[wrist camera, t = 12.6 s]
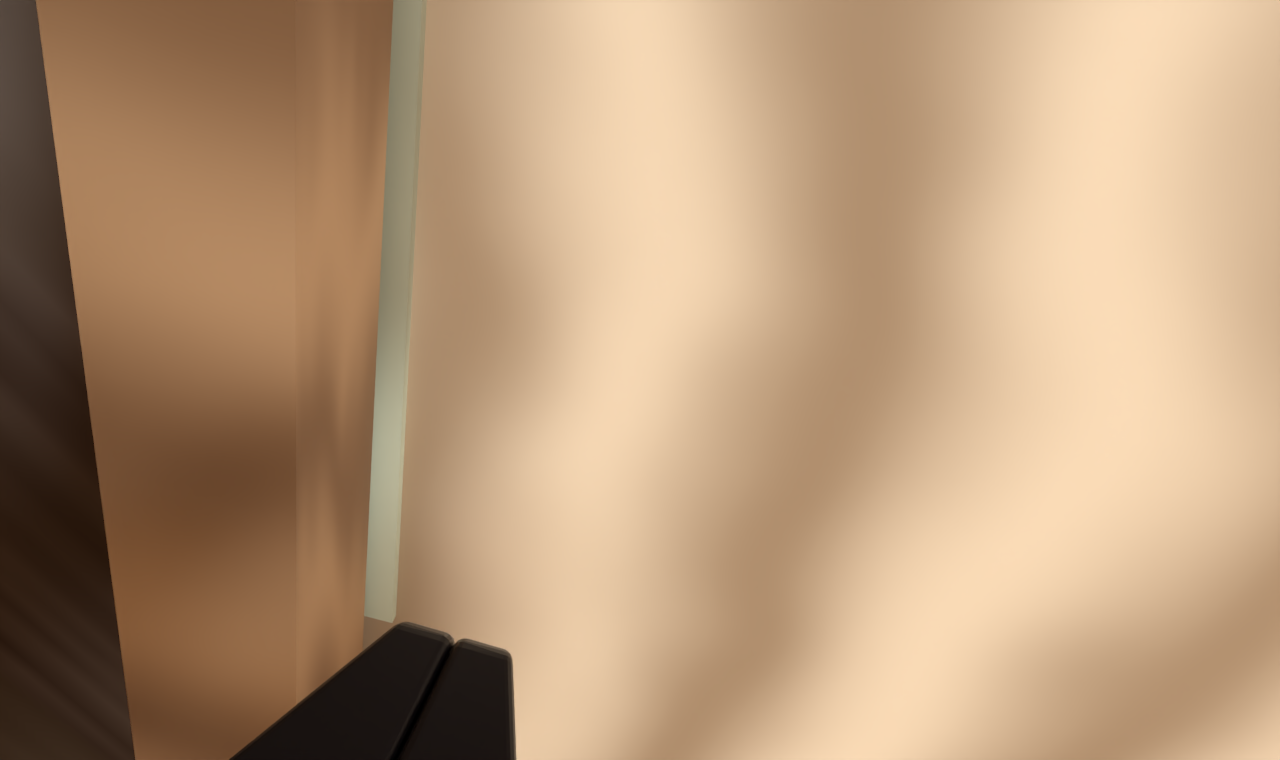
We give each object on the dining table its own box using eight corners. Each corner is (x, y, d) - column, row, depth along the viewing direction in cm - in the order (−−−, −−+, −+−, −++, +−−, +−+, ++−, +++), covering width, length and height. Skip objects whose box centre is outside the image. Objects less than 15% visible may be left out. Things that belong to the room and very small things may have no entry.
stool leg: (360, 776, 25) (301, 906, 23) (218, 736, 25) (143, 861, 23) (413, -241, 14) (305, -201, 11) (152, -300, 14) (-10, -272, 11)
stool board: (201, 723, 29) (155, 797, 28) (90, -434, 16) (-17, -435, 14) (1123, 969, 28) (1138, 1065, 26) (1917, -65, 14) (2063, -12, 12)
